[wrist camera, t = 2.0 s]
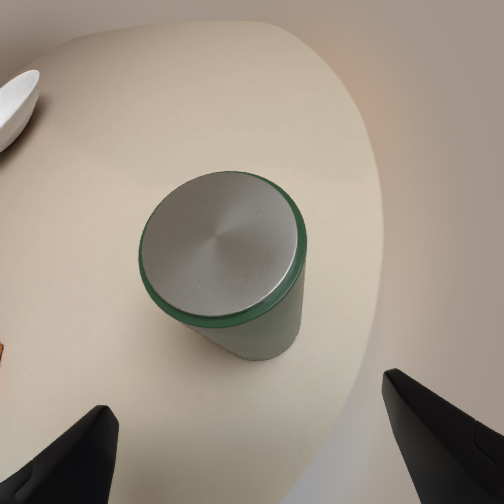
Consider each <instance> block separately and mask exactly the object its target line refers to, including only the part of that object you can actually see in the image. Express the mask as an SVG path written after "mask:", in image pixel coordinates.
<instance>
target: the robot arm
mask: <svg viewBox="0 0 504 504" xmlns="http://www.w3.org/2000/svg"><path fill="white" fill-rule="evenodd" d="M382 395H383V399H384V402H385V406H386V409H387V413H388V416H389V420H390V423H391V427H392V430H393V434H394V437H395V439H396V442H397V444H398V446H399V449H400V451H401V454H402V456H403V458H404V461H405V463H406V466H407V468H408V471H409V473H410V476H411V478H412V481H413V483H414V486H415V489H416V491H417V494H418V496H419V498H420V501H421V504H504V436H503V435H501V434H499V433H497V432H495V431H494V430H492V429H490V428H488V427H487V426H485V425H484V424H482V423H481V422H479V421H477V420H476V421H475V419H474V418H473V417H471V416H469V415H468V414H466V413H465V412H463V411H462V410H460V409H458V408H457V407H455V406H454V405H452V404H450V403H449V402H448V401H446V400H445V399H443V398H442V397H440V396H438V395H437V394H435V393H434V392H432V391H431V390H429V389H428V388H426V387H424V386H423V385H421V384H420V383H419V382H417V381H415V380H414V379H412V378H411V377H409V376H408V375H406V374H405V373H403V372H402V371H400V370H399V369H396V368H394V369H391V370H387V371H385V372H384V374H383V383H382ZM118 432H119V422H118V420H117V418H116V417H115V415H114V414H113V412H112V411H111V409H110V408H109V407H108V406H106V405H97V406H95V407H94V408H93V409H92V410H90V411H89V412H88V413H87V414H86V415H85V416H83V417H82V418H81V419H80V420H79V421H77V422H76V423H75V424H74V425H73V426H72V427H70V428H69V429H68V430H67V431H66V432H64V433H63V434H62V435H61V436H60V437H59V438H57V439H56V440H55V441H54V442H53V443H51V444H50V445H49V446H48V447H47V448H45V449H44V450H43V451H42V452H41V453H39V454H38V455H37V456H36V457H35V458H33V460H31V461H30V462H29V463H27V464H26V465H25V466H24V467H22V468H21V469H20V470H19V471H17V472H16V473H14V474H13V475H12V476H10V477H9V478H7V479H6V480H4V481H3V482H1V483H0V504H108V500H109V494H110V488H111V483H112V478H113V473H114V468H115V461H116V452H117V442H118Z"/></svg>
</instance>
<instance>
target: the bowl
mask: <svg viewBox="0 0 504 504" xmlns="http://www.w3.org/2000/svg"><path fill="white" fill-rule="evenodd" d="M38 80H39V72H38V71H37V70H30V71H27V72H25V73H22V74H21V75H19V76H17V77H15V78H14V79H12V80H11V81H10V82H8V83H7V84H6V85H4V86H3V87H2V88H1V89H0V152H2V151H3V150H4V149H6V148H7V147H8V146H9V145H10V144H12V143H13V141H14V140H15V139H16V138H17V137H18V136H19V135H20V133H21V132H22V131H23V129H24V128H25V126H26V124H27V123H28V121H29V119H30V117H31V115H32V113H33V110H34V107H35V104H36V102H37V100H38V98H39V94H40V89H39V85H38Z"/></svg>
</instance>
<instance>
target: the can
mask: <svg viewBox="0 0 504 504" xmlns="http://www.w3.org/2000/svg"><path fill="white" fill-rule="evenodd" d="M306 252H307V234H306V228H305V224H304V220H303V217H302V215H301V213H300V210H299V209H298V207H297V205H296V204H295V202H294V201H293V200H292V199H291V197H290V196H289V195H288V194H287V193H286V192H285V191H284V190H283V189H281V188H280V187H279V186H277V185H276V184H275V183H273V182H271V181H269V180H267V179H265V178H263V177H260V176H258V175H255V174H250V173H246V172H238V171H224V172H215V173H211V174H206V175H203V176H200V177H197V178H195V179H193V180H190V181H188V182H186V183H185V184H183V185H181V186H179V187H178V188H177V189H175V190H174V191H172V192H171V193H170V194H169V195H168V196H167V197H165V198H164V199H163V200H162V202H161V203H160V204H159V205H158V206H157V207H156V209H155V210H154V211H153V213H152V214H151V216H150V218H149V219H148V221H147V223H146V225H145V228H144V230H143V233H142V236H141V240H140V245H139V259H138V261H139V269H140V274H141V278H142V281H143V284H144V286H145V288H146V290H147V292H148V294H149V295H150V297H151V298H152V300H153V301H154V302H155V303H156V304H157V305H158V307H160V308H161V309H162V310H163V311H164V312H165V313H167V314H168V315H170V316H171V317H173V318H174V319H176V320H178V321H179V322H181V323H182V324H184V325H186V326H187V327H189V328H190V329H192V330H194V331H195V332H197V333H199V334H200V335H202V336H204V337H205V338H207V339H209V340H210V341H212V342H214V343H215V344H217V345H219V346H221V347H222V348H224V349H226V350H228V351H229V352H231V353H233V354H235V355H236V356H238V357H241V358H243V359H247V360H253V361H262V360H268V359H271V358H274V357H276V356H278V355H280V354H281V353H283V352H284V351H285V350H287V349H288V348H289V347H290V346H291V344H292V343H293V342H294V340H295V338H296V336H297V334H298V332H299V329H300V324H301V314H302V303H303V291H304V279H305V266H306Z"/></svg>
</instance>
